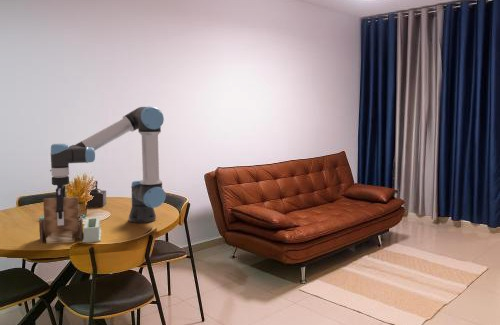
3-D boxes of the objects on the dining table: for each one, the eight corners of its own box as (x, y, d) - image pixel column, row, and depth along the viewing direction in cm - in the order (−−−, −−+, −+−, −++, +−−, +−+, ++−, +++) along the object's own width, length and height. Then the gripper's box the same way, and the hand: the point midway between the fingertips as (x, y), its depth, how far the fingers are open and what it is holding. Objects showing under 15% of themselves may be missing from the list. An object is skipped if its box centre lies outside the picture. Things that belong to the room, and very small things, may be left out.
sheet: (79, 236, 197) (78, 196, 194) (79, 237, 195) (77, 197, 193) (45, 239, 192) (43, 198, 190) (44, 240, 190) (43, 199, 188)
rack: (82, 235, 199) (82, 215, 198) (81, 239, 192) (81, 219, 191) (42, 237, 193) (42, 217, 192) (40, 242, 186) (39, 222, 185)
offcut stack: (75, 239, 194) (75, 230, 193) (74, 242, 189) (74, 233, 188) (48, 240, 190) (48, 231, 190) (46, 244, 185) (46, 234, 185)
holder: (101, 230, 208) (101, 217, 207) (100, 241, 190) (100, 227, 189) (84, 231, 206) (84, 218, 205) (82, 242, 187) (81, 228, 187)
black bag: (89, 204, 268) (89, 177, 266) (106, 203, 270) (106, 177, 267) (82, 209, 253) (82, 181, 251) (100, 209, 254) (100, 181, 252)
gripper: (54, 173, 198) (56, 218, 201) (48, 179, 179) (50, 229, 182) (70, 172, 201) (72, 217, 203) (66, 179, 181) (68, 228, 184)
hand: (61, 222), depth 192 cm, fingers open, 8 cm apart
